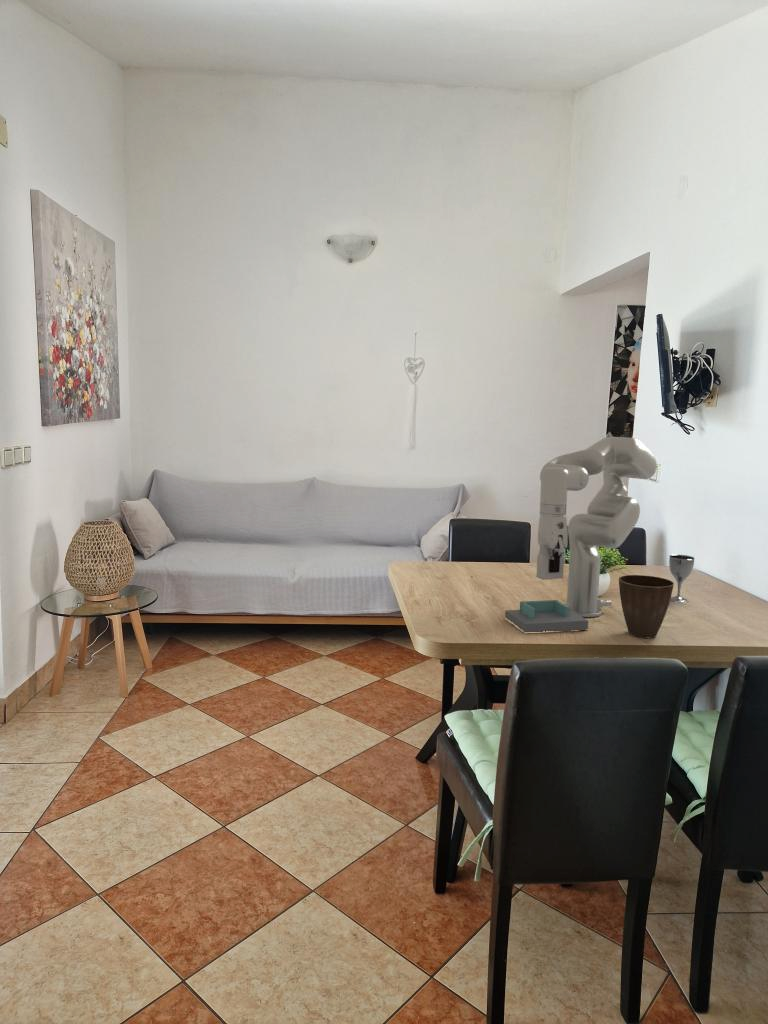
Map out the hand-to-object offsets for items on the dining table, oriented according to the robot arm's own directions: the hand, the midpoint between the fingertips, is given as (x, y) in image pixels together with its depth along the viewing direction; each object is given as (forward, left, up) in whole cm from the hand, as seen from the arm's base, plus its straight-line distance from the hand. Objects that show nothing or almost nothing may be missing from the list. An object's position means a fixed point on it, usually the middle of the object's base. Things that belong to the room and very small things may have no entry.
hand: (550, 569), depth 215 cm
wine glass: (-59, -20, -17) cm, 65 cm away
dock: (+1, 0, -17) cm, 17 cm away
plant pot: (-23, +13, -17) cm, 32 cm away
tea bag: (0, 0, -2) cm, 2 cm away
